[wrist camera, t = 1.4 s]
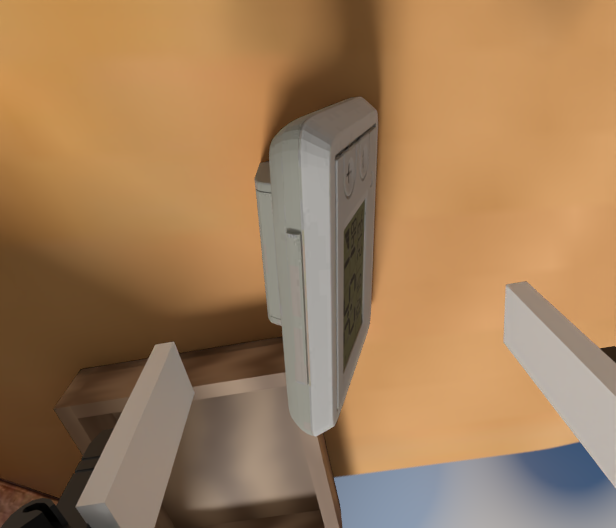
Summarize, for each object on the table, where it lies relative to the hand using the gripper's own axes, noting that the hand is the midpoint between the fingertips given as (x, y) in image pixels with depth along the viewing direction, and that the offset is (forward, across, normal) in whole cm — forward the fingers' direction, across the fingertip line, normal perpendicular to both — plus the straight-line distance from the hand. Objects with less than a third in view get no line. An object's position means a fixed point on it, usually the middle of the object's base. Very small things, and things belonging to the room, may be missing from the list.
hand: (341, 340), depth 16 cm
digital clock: (+12, 0, 0) cm, 12 cm away
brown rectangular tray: (+12, -12, -19) cm, 25 cm away
